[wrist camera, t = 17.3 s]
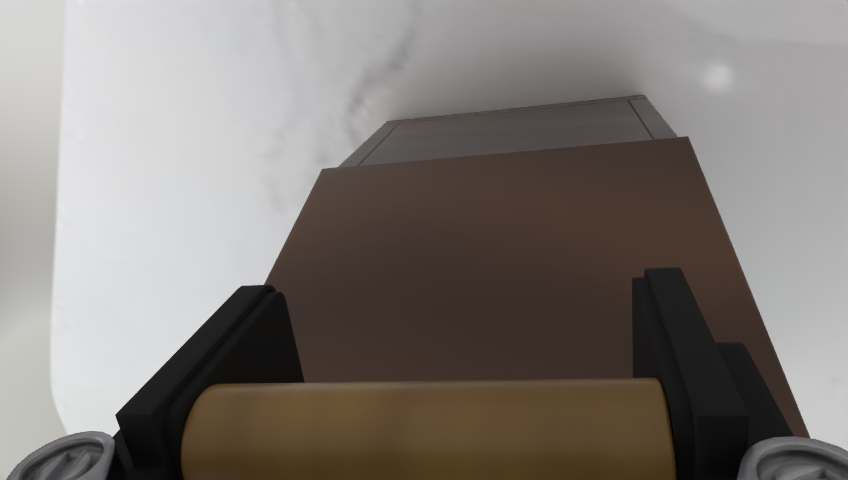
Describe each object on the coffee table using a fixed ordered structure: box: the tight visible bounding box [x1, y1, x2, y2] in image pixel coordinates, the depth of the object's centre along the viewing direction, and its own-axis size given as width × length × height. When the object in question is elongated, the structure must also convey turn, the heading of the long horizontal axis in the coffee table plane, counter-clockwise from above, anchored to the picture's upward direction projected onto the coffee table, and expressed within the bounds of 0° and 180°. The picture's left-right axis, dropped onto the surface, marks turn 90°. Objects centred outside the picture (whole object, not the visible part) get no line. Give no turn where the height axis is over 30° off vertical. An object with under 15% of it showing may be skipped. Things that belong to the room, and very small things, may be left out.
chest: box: [337, 95, 677, 168], centre depth 28 cm, size 15×12×9 cm
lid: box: [181, 137, 811, 480], centre depth 13 cm, size 16×12×5 cm
